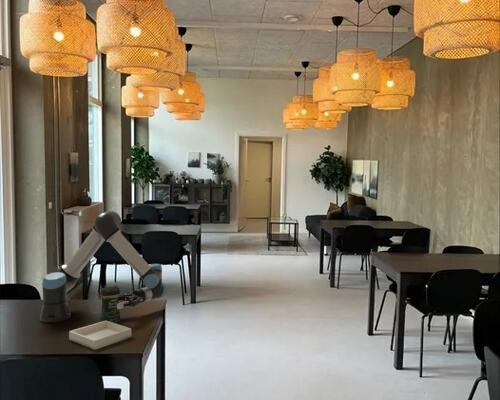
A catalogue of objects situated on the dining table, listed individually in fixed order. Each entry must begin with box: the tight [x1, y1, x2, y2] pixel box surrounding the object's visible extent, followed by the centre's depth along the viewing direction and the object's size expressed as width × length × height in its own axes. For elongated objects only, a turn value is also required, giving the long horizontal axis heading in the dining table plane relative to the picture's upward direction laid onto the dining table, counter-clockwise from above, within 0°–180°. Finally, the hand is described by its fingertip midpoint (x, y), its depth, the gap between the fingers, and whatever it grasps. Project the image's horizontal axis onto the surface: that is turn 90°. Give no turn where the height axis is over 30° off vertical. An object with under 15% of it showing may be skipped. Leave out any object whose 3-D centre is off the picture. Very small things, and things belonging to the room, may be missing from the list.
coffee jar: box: [99, 285, 121, 324], centre depth 242 cm, size 10×8×19 cm
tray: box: [68, 321, 133, 351], centre depth 219 cm, size 20×20×4 cm
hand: (109, 304), depth 241 cm, fingers open, 13 cm apart
